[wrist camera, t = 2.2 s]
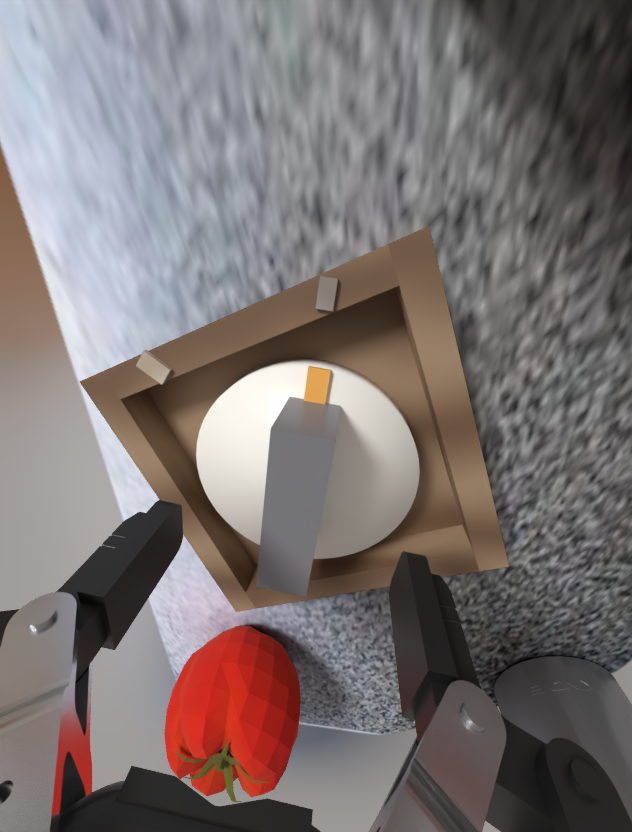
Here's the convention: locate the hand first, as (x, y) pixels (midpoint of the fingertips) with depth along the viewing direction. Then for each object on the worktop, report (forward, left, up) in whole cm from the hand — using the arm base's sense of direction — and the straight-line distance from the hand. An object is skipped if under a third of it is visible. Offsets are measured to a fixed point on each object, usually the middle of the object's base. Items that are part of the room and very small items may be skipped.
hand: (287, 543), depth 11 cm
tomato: (-18, +14, -9) cm, 25 cm away
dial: (0, 0, -7) cm, 7 cm away
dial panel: (0, 0, -9) cm, 9 cm away
